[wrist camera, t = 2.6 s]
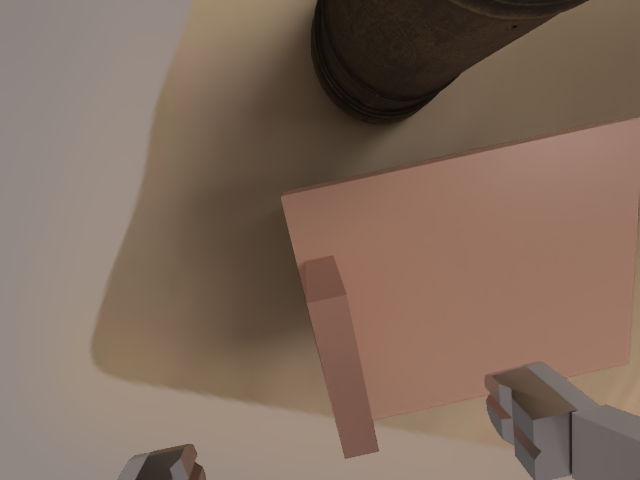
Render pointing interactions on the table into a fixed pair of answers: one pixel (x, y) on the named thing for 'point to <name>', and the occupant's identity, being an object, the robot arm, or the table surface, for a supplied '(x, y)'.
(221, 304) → the table surface
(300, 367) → the table surface
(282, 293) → the table surface
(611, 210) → the lid
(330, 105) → the table surface
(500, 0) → the container
